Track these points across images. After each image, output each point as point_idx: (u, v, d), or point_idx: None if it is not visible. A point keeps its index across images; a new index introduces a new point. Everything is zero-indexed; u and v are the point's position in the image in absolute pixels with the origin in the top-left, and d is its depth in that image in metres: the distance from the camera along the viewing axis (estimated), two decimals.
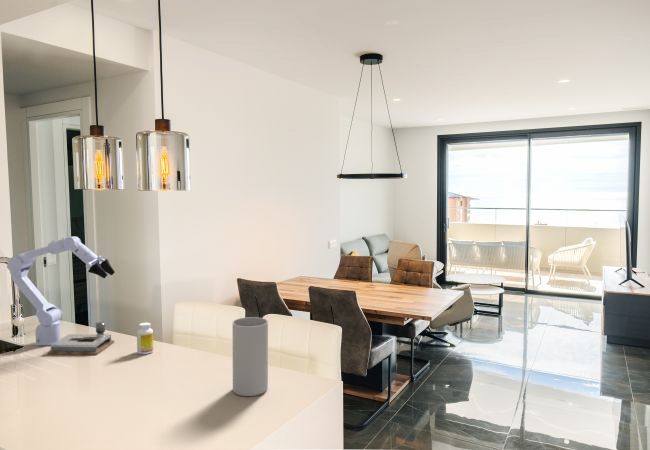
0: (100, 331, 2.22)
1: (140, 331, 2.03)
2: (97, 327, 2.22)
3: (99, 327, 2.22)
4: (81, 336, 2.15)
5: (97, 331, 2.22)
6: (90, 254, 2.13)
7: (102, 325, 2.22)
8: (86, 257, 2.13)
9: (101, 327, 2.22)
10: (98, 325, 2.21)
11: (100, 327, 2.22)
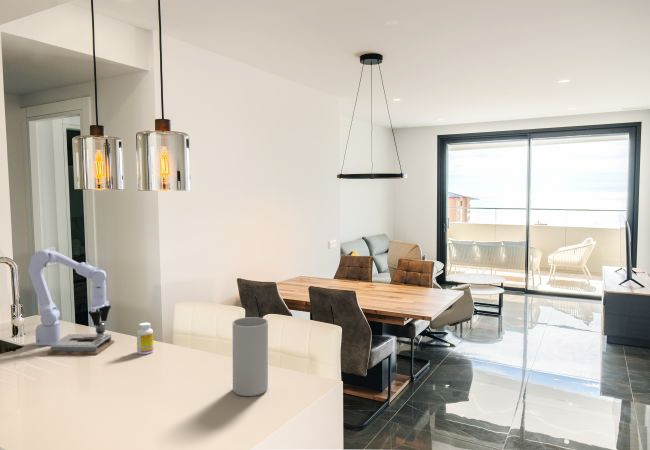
0: (100, 331, 2.22)
1: (140, 331, 2.03)
2: (97, 327, 2.22)
3: (99, 327, 2.22)
4: (81, 336, 2.15)
5: (97, 331, 2.22)
6: (102, 298, 2.21)
7: (102, 325, 2.22)
8: (98, 298, 2.20)
9: (101, 327, 2.22)
10: None
11: (100, 327, 2.22)
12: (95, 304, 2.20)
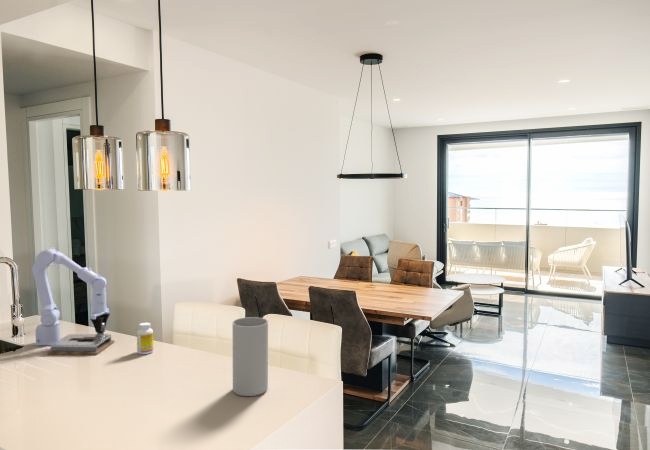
0: None
1: (140, 331, 2.03)
2: None
3: None
4: (81, 336, 2.15)
5: None
6: (103, 305, 2.21)
7: (102, 325, 2.22)
8: (98, 305, 2.20)
9: (101, 327, 2.22)
10: None
11: None
12: (95, 311, 2.20)
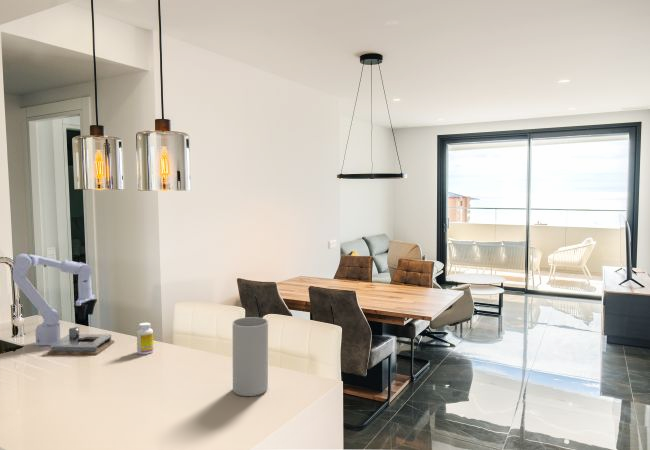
0: (74, 337, 2.09)
1: (140, 331, 2.03)
2: (70, 333, 2.08)
3: (73, 333, 2.08)
4: (81, 336, 2.15)
5: (70, 337, 2.09)
6: (88, 292, 2.23)
7: (76, 331, 2.09)
8: (83, 292, 2.22)
9: (75, 333, 2.09)
10: (71, 331, 2.08)
11: (74, 333, 2.09)
12: (80, 298, 2.22)
